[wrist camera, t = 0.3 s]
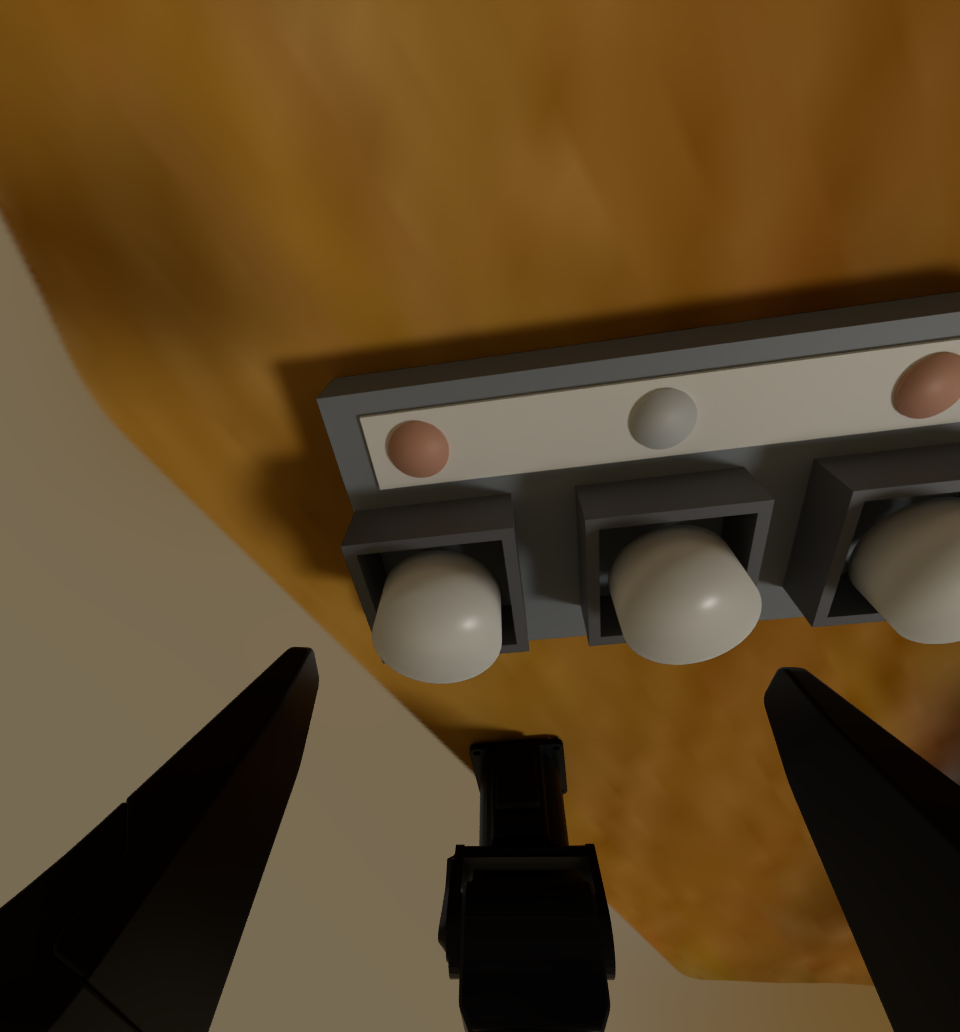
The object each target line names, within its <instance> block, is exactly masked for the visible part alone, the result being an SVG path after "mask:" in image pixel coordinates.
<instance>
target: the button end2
mask: <svg viewBox="0 0 960 1032" xmlns="http://www.w3.org/2000/svg"><path fill="white" fill-rule="evenodd" d="M372 640H373V644H374V647H375V649H376V652H377V653H378V655H379V656H380V658H381V659H382V660H383V661H384V662H385V663H386V664H387V665H388V666H389V667H390V668H392V669H393V670H395V671H396V672H398V673H400V674H402V675H404V676H406V677H409V678H411V679H414V680H418V681H422V682H428V683H439V684H442V683H455V682H460V681H464V680H467V679H470V678H473V677H475V676H477V675H479V674H481V673H482V672H484V671H485V670H486V669H488V668H489V667H490V666H491V665H492V664H493V663H494V661H495V660H496V659H497V657H498V655H499V653H500V650H501V645H502V625H501V594H500V588H499V585H498V582H497V580H496V578H495V577H494V575H493V574H492V573H491V571H490V570H489V569H488V568H487V567H486V566H484V565H483V564H482V563H480V562H479V561H477V560H476V559H474V558H472V557H470V556H467V555H465V554H462V553H458V552H454V551H447V550H431V551H424V552H420V553H417V554H414V555H411V556H409V557H407V558H405V559H404V560H402V561H401V562H399V563H398V564H397V565H396V566H395V567H394V568H393V569H392V570H391V572H390V573H389V574H388V576H387V579H386V581H385V585H384V588H383V592H382V596H381V599H380V603H379V607H378V611H377V614H376V618H375V622H374V625H373V630H372Z"/></svg>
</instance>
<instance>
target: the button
mask: <svg viewBox="0 0 960 1032" xmlns="http://www.w3.org/2000/svg"><path fill="white" fill-rule="evenodd" d="M848 575H849V578H850V581H851V582H852V584H853V585H854V587H855V588H856V589H857V590H858V591H859V592H860V593H861V594H862V595H863V596H864V597H865V598H866V599H867V601H868V602H869V603H870V604H871V605H872V606H873V607H874V608H875V609H876V610H877V611H878V612H879V613H880V615H881V616H882V617H883V618H884V619H885V620H886V621H887V622H888V623H889V624H890V625H891V626H892V627H893V628H894V630H895V631H896V632H897V633H898V634H900V635H901V636H903V637H904V638H906V639H909V640H911V641H915V642H919V643H925V644H944V643H952V642H957V641H960V497H937V498H930V499H926V500H922V501H918V502H915V503H913V504H910V505H907V506H905V507H903V508H900V509H898V510H897V511H895V512H893V513H891V514H889V515H888V516H886V517H885V518H883V519H882V520H880V521H879V522H878V523H876V524H875V525H874V526H873V527H872V528H870V529H869V530H868V531H867V532H866V533H865V534H864V535H863V537H862V538H861V539H860V540H859V542H858V543H857V544H856V546H855V548H854V549H853V551H852V554H851V556H850V559H849V563H848Z"/></svg>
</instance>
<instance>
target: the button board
mask: <svg viewBox="0 0 960 1032" xmlns="http://www.w3.org/2000/svg"><path fill="white" fill-rule="evenodd" d="M316 400H317V403H318V406H319V409H320V412H321V415H322V418H323V421H324V424H325V427H326V430H327V433H328V436H329V439H330V442H331V445H332V448H333V451H334V454H335V457H336V460H337V464H338V467H339V470H340V473H341V476H342V479H343V482H344V485H345V488H346V491H347V494H348V497H349V500H350V503H351V506H352V509H353V512H354V516H353V518H352V520H351V523H350V525H349V528H348V530H347V532H346V535H345V537H344V539H343V542H342V544H341V546H340V547H341V549H342V552H343V555H344V558H345V560H346V563H347V566H348V569H349V571H350V574H351V577H352V580H353V582H354V585H355V588H356V591H357V593H358V596H359V599H360V602H361V604H362V607H363V610H364V613H365V615H366V618H367V621H368V624H369V626H370V629H371V632H372V630H373V625H374V622H375V618H376V614H377V611H378V607H379V603H380V599H381V596H382V592H383V588H384V585H385V581H386V579H387V576H388V574H389V573H390V572H391V570H392V569H393V568H394V567H395V566H396V565H397V564H398V563H399V562H401V561H402V560H404V559H405V558H407V557H409V556H411V555H414V554H417V553H420V552H424V551H431V550H447V551H454V552H458V553H462V554H465V555H467V556H470V557H472V558H474V559H476V560H477V561H479V562H480V563H482V564H483V565H484V566H486V567H487V568H488V569H489V570H490V571H491V573H492V574H493V575H494V577H495V578H496V580H497V582H498V585H499V588H500V594H501V625H502V645H501V650H500V653H499V654H501V653H513V652H525V651H529V644H528V640H538V639H550V638H562V637H573V636H585V635H587V637H588V642H589V646H595V645H607V644H619V643H626V641H625V639H624V637H623V634H622V630H621V627H620V624H619V620H618V617H617V614H616V610H615V607H614V604H613V600H612V597H611V594H610V590H609V586H608V575H609V571H610V568H611V565H612V563H613V561H614V560H615V558H616V556H617V555H618V554H619V553H620V551H621V550H622V549H623V548H624V547H625V546H626V545H627V544H629V543H630V542H631V541H632V540H634V539H636V538H637V537H639V536H640V535H642V534H644V533H646V532H649V531H651V530H654V529H657V528H661V527H664V526H670V525H694V526H699V527H703V528H706V529H708V530H711V531H713V532H714V533H716V534H717V535H719V536H720V537H721V538H722V539H723V540H724V541H725V542H726V543H727V544H728V546H729V547H730V549H731V550H732V552H733V553H734V555H735V556H736V558H737V559H738V561H739V562H740V564H741V565H742V566H743V568H744V569H745V571H746V572H747V574H748V575H749V577H750V578H751V580H752V581H753V583H754V584H755V586H756V587H757V589H758V591H759V593H760V596H761V603H762V608H761V614H760V617H759V620H769V619H780V618H792V617H803V616H804V617H805V618H806V619H807V621H808V622H809V623H810V625H811V626H812V627H819V626H831V625H843V624H855V623H866V622H878V621H886V620H885V619H884V618H883V617H882V616H881V615H880V613H879V612H878V611H877V610H876V609H875V608H874V607H873V606H872V605H871V604H870V603H869V602H868V601H867V599H866V598H865V597H864V596H863V595H862V594H861V593H860V592H859V591H858V590H857V589H856V588H855V587H854V585H853V584H852V582H851V581H850V578H849V575H848V563H849V559H850V556H851V554H852V551H853V549H854V548H855V546H856V544H857V543H858V542H859V540H860V539H861V538H862V537H863V535H864V534H865V533H866V532H867V531H868V530H869V529H870V528H872V527H873V526H874V525H875V524H876V523H878V522H879V521H880V520H882V519H883V518H885V517H886V516H888V515H889V514H891V513H893V512H895V511H897V510H898V509H900V508H903V507H905V506H907V505H910V504H913V503H915V502H918V501H922V500H926V499H930V498H937V497H960V292H952V293H945V294H938V295H931V296H924V297H916V298H909V299H902V300H895V301H888V302H881V303H873V304H866V305H859V306H852V307H845V308H837V309H830V310H823V311H816V312H809V313H801V314H794V315H787V316H780V317H773V318H765V319H758V320H751V321H744V322H737V323H730V324H722V325H715V326H708V327H701V328H694V329H686V330H679V331H672V332H665V333H658V334H650V335H643V336H636V337H629V338H622V339H614V340H607V341H600V342H593V343H586V344H579V345H571V346H564V347H557V348H550V349H543V350H535V351H528V352H521V353H514V354H507V355H499V356H492V357H485V358H478V359H471V360H463V361H456V362H449V363H442V364H435V365H428V366H420V367H413V368H406V369H399V370H392V371H384V372H377V373H370V374H363V375H356V376H348V377H341V378H334V379H333V380H332V381H331V382H330V383H329V384H328V386H327V387H326V388H325V389H324V390H323V392H322V393H321V394H320V395H319V396H318V397H317V399H316ZM382 662H383V663H385V662H384V661H383V660H382Z"/></svg>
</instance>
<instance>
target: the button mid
mask: <svg viewBox="0 0 960 1032" xmlns="http://www.w3.org/2000/svg"><path fill="white" fill-rule="evenodd" d="M608 586H609V590H610V594H611V597H612V600H613V604H614V607H615V610H616V614H617V617H618V620H619V624H620V627H621V630H622V634H623V637H624V639H625V641H626V643H627V644H628V645H629V647H630V648H631V649H632V650H633V651H634V652H636V653H637V654H639V655H640V656H642V657H644V658H646V659H648V660H651V661H654V662H658V663H663V664H674V665H680V664H691V663H697V662H702V661H705V660H709V659H712V658H714V657H717V656H719V655H721V654H723V653H725V652H727V651H729V650H731V649H732V648H734V647H735V646H737V645H738V644H739V643H741V642H742V641H743V640H744V639H745V638H746V637H747V636H748V635H749V634H750V633H751V631H752V630H753V628H754V627H755V626H756V624H757V622H758V620H759V617H760V614H761V608H762V603H761V596H760V593H759V591H758V589H757V587H756V586H755V584H754V583H753V581H752V580H751V578H750V577H749V575H748V574H747V572H746V571H745V569H744V568H743V566H742V565H741V564H740V562H739V561H738V559H737V558H736V556H735V555H734V553H733V552H732V550H731V549H730V547H729V546H728V544H727V543H726V542H725V541H724V540H723V539H722V538H721V537H720V536H719V535H717V534H716V533H714V532H713V531H711V530H708V529H706V528H703V527H699V526H694V525H670V526H664V527H661V528H657V529H654V530H651V531H649V532H646V533H644V534H642V535H640V536H639V537H637V538H636V539H634V540H632V541H631V542H630V543H629V544H627V545H626V546H625V547H624V548H623V549H622V550H621V551H620V553H619V554H618V555H617V556H616V558H615V560H614V561H613V563H612V565H611V568H610V571H609V575H608Z"/></svg>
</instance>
